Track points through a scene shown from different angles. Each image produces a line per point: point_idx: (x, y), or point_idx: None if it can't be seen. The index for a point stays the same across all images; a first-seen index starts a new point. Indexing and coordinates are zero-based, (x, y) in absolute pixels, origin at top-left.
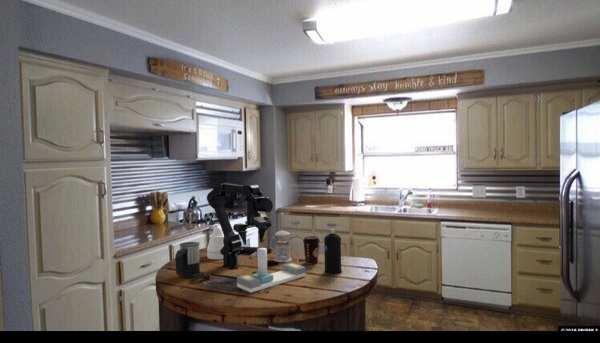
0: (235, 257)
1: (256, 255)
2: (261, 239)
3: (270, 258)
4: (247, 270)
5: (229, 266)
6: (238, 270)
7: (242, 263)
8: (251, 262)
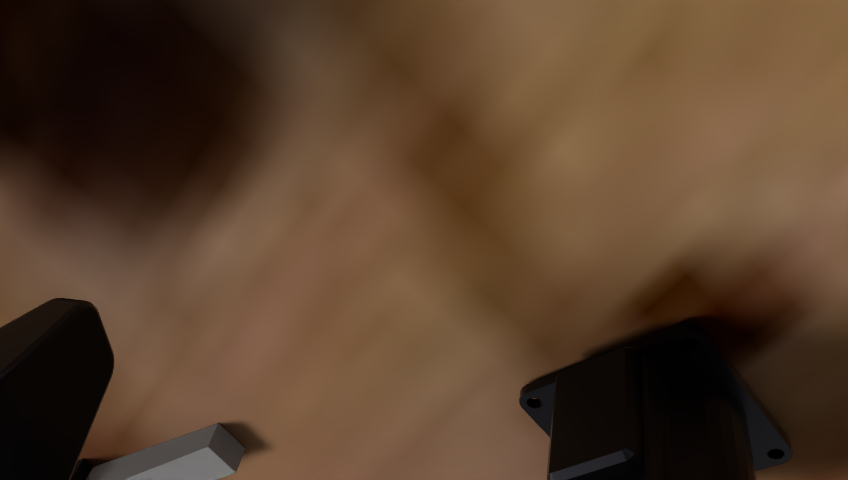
0: (641, 457)
1: (124, 457)
2: (20, 364)
3: (3, 260)
4: (665, 40)
5: (738, 380)
6: (771, 163)
7: (456, 370)
8: (327, 316)
